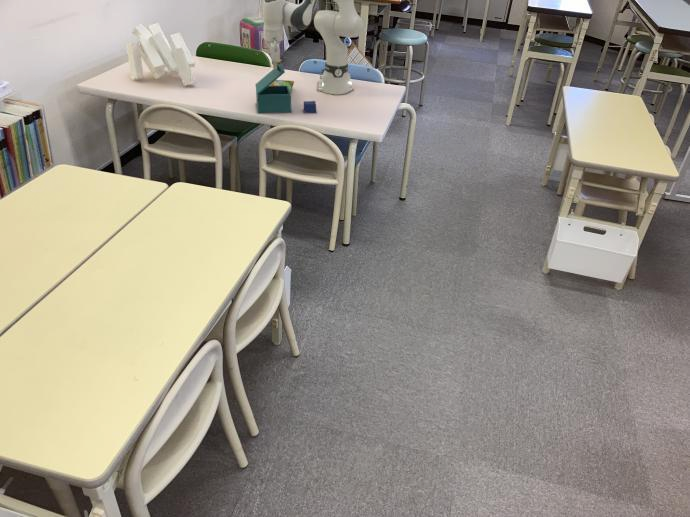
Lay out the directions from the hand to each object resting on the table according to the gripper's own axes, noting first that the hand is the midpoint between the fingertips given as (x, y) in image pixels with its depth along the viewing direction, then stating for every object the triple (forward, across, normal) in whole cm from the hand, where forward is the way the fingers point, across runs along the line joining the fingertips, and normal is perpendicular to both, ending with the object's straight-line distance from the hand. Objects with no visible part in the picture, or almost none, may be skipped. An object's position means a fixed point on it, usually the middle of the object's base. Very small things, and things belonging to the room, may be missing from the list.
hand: (274, 66), depth 257 cm
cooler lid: (+6, 0, +2) cm, 6 cm away
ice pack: (+20, -6, -16) cm, 26 cm away
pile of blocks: (+20, +44, +55) cm, 73 cm away
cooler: (+20, 0, +1) cm, 20 cm away
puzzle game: (+20, +19, -4) cm, 28 cm away
